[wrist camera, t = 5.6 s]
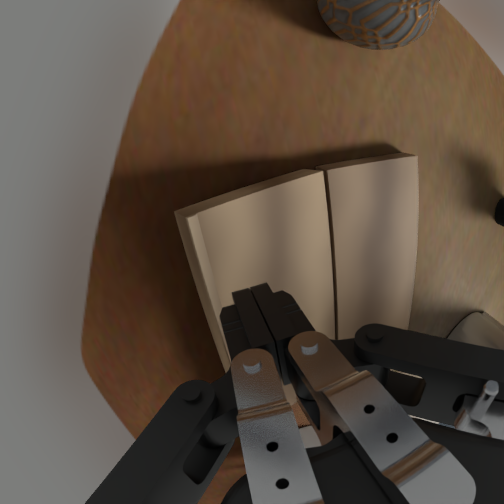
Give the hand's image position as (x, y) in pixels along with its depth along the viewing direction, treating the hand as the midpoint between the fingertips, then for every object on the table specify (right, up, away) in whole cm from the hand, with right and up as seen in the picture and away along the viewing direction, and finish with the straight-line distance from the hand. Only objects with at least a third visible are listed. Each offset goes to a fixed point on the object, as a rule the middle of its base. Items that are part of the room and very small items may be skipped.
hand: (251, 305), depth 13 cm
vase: (+7, +19, +3) cm, 20 cm away
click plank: (+1, -2, +9) cm, 9 cm away
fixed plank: (+10, +1, +11) cm, 15 cm away
